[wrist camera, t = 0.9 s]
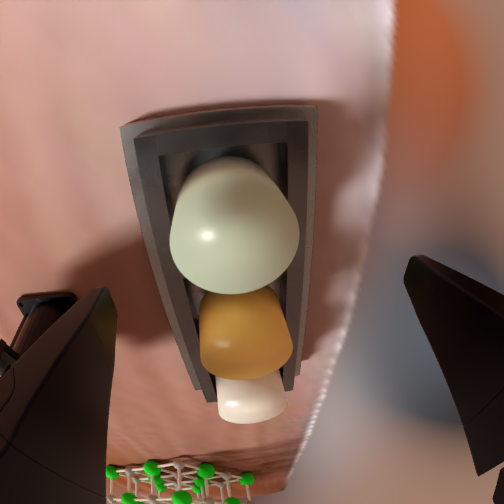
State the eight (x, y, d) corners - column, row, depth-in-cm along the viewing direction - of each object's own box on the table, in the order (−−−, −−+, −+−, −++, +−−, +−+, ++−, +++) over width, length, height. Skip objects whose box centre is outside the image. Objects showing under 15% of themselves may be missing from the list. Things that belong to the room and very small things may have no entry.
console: (194, 377, 26) (196, 405, 24) (126, 123, 14) (108, 133, 11) (295, 363, 27) (304, 390, 24) (307, 104, 15) (330, 110, 12)
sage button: (185, 255, 15) (183, 300, 12) (169, 163, 12) (157, 191, 9) (279, 243, 16) (297, 285, 13) (277, 151, 13) (300, 174, 10)
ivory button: (219, 390, 23) (223, 426, 20) (210, 357, 20) (213, 399, 17) (277, 382, 23) (286, 417, 20) (278, 347, 21) (289, 388, 18)
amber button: (205, 340, 19) (208, 384, 16) (192, 284, 16) (191, 331, 13) (278, 330, 20) (290, 372, 17) (278, 272, 17) (295, 316, 14)
